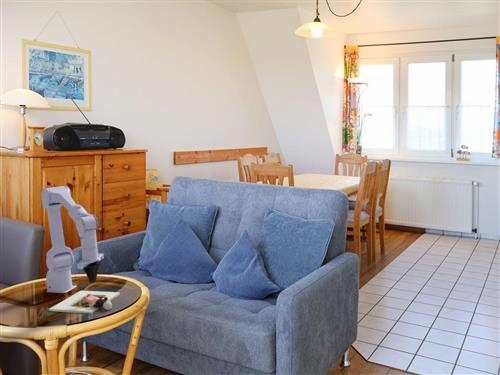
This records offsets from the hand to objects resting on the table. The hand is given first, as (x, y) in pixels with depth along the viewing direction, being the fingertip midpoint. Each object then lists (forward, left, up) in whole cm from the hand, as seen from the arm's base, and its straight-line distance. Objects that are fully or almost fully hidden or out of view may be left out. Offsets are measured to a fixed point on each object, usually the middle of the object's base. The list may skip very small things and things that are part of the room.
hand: (92, 281), depth 188 cm
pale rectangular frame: (-3, 0, -8) cm, 9 cm away
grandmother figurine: (-2, -2, -6) cm, 6 cm away
